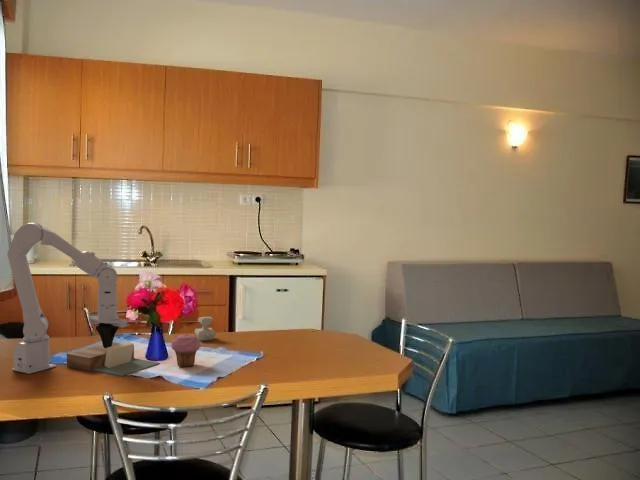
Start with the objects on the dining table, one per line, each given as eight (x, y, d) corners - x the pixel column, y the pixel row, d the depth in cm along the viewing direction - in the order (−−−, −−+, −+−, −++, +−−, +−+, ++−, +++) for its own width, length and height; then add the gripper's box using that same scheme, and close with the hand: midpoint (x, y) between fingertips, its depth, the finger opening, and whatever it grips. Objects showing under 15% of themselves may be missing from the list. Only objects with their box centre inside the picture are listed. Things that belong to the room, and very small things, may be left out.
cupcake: (171, 369, 182) (172, 337, 181) (170, 362, 190) (171, 331, 190) (201, 368, 184) (201, 336, 184) (199, 361, 193) (199, 330, 192)
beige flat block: (104, 365, 182) (108, 368, 181) (107, 347, 181) (112, 349, 180) (126, 359, 190) (130, 361, 189) (129, 341, 189) (133, 343, 188)
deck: (89, 371, 179) (89, 358, 179) (66, 366, 183) (66, 353, 183) (134, 357, 195) (134, 345, 195) (111, 353, 199) (111, 342, 199)
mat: (121, 376, 174) (121, 375, 174) (92, 370, 180) (92, 369, 180) (159, 363, 188) (159, 362, 188) (131, 358, 194) (131, 357, 194)
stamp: (193, 337, 225) (193, 315, 225) (210, 336, 228) (210, 314, 228) (199, 343, 217) (199, 320, 217) (217, 341, 220) (217, 319, 219)
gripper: (134, 305, 187) (134, 347, 188) (100, 300, 194) (100, 342, 194) (116, 308, 181) (117, 352, 182) (83, 303, 187) (83, 346, 188)
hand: (107, 347), depth 188 cm, fingers closed
